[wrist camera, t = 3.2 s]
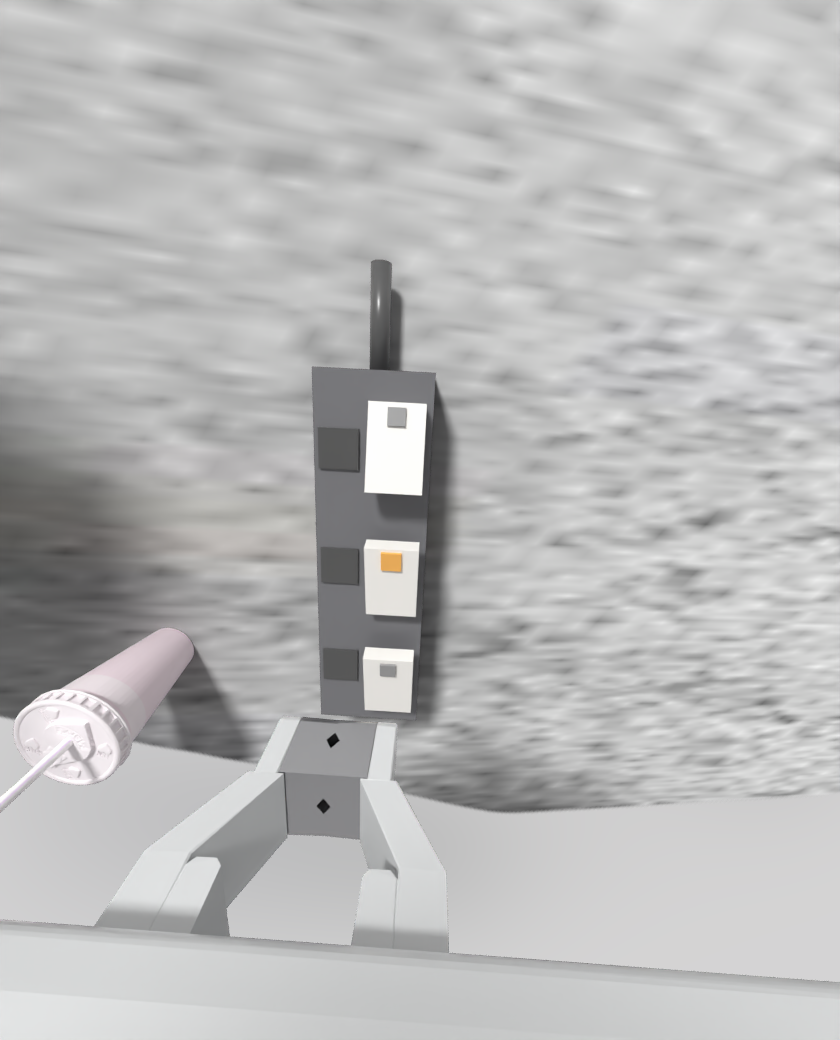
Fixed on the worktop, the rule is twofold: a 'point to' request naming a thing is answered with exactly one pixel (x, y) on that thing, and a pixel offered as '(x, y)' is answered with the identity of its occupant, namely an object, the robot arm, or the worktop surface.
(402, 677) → the block
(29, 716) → the smoothie
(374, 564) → the rocker
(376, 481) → the plate
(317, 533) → the power strip
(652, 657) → the worktop surface
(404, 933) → the robot arm
